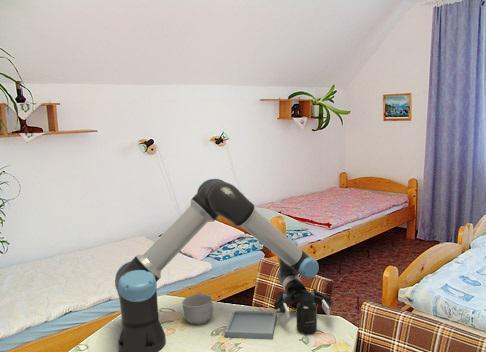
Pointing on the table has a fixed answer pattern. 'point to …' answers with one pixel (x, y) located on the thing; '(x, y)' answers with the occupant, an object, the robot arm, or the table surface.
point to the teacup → (198, 308)
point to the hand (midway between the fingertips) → (308, 313)
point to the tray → (251, 324)
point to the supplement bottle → (306, 315)
